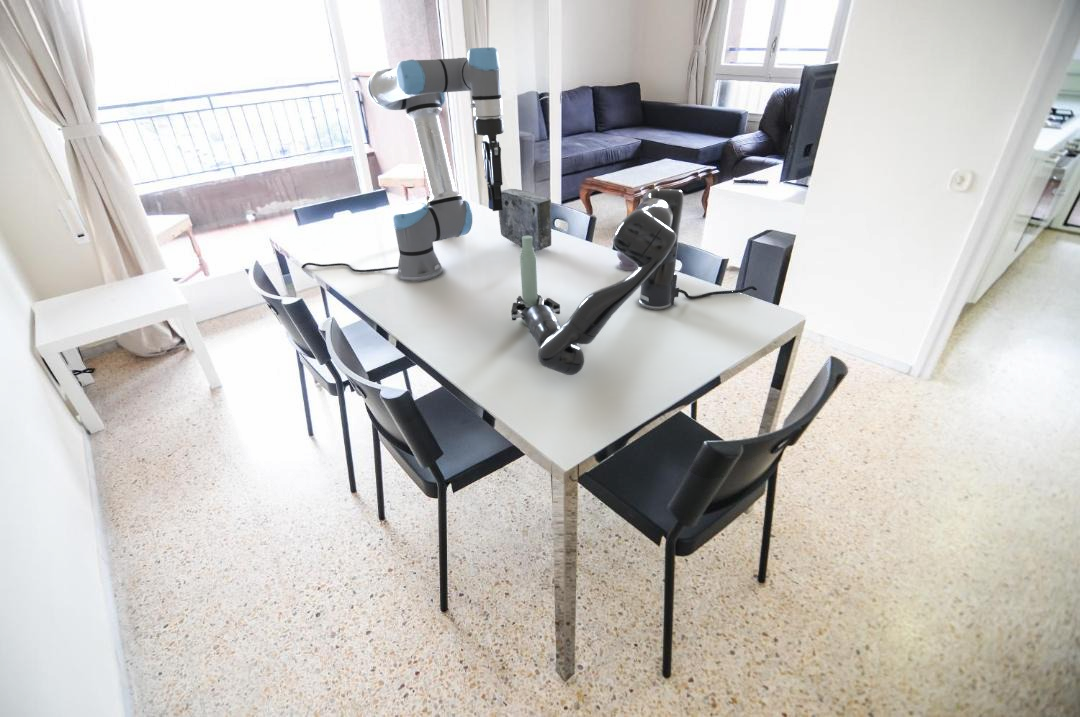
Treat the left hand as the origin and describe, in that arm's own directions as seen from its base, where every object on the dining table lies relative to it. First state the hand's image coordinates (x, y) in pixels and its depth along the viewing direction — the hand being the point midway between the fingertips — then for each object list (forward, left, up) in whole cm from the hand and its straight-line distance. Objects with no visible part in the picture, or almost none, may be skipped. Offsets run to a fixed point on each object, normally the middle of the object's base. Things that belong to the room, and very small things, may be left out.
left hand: (495, 208), depth 141 cm
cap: (0, 0, +2) cm, 2 cm away
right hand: (+13, -10, -22) cm, 27 cm away
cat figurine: (+32, +37, -28) cm, 56 cm away
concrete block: (-11, +48, -28) cm, 57 cm away
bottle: (+14, -12, -28) cm, 34 cm away
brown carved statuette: (-55, +55, -28) cm, 83 cm away
